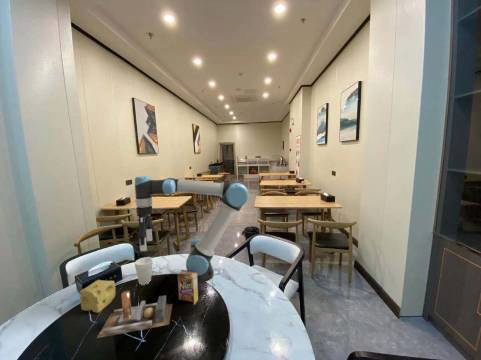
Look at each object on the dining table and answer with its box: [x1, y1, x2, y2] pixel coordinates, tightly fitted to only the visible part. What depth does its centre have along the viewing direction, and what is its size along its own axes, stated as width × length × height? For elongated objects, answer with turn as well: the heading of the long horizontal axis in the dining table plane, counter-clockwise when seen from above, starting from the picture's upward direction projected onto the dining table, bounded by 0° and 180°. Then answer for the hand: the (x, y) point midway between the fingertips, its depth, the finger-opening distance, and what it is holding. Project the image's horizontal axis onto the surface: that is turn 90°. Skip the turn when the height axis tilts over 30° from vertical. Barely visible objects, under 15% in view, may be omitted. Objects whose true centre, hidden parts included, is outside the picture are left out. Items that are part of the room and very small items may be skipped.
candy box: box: [177, 269, 199, 306], centre depth 99 cm, size 9×4×15 cm, turn 73°
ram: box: [118, 290, 147, 326], centre depth 86 cm, size 9×8×12 cm
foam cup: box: [134, 256, 153, 286], centre depth 117 cm, size 10×9×13 cm
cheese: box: [79, 279, 116, 313], centre depth 99 cm, size 10×11×10 cm
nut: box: [144, 308, 154, 318], centre depth 88 cm, size 4×4×4 cm
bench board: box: [96, 295, 173, 339], centre depth 87 cm, size 27×13×8 cm, turn 103°
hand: (146, 245), depth 105 cm, fingers open, 13 cm apart
